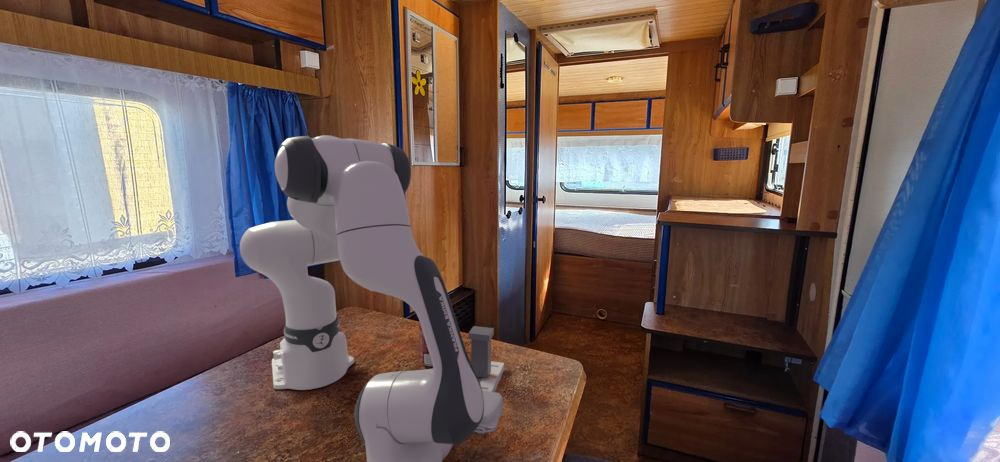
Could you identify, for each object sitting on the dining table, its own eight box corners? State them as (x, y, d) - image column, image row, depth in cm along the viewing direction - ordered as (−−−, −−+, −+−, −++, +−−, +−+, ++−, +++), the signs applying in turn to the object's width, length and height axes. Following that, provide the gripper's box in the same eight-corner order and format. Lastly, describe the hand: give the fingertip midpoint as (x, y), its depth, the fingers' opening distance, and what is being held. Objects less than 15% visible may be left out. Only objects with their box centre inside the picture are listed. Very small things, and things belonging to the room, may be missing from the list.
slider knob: (489, 379, 91) (489, 335, 89) (468, 376, 93) (468, 333, 91) (493, 370, 95) (493, 328, 93) (473, 368, 96) (473, 326, 94)
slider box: (476, 433, 77) (476, 423, 77) (438, 426, 79) (438, 416, 79) (504, 370, 100) (504, 362, 100) (474, 366, 102) (474, 358, 102)
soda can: (440, 369, 100) (439, 325, 98) (415, 366, 102) (414, 323, 99) (449, 356, 107) (448, 315, 104) (425, 354, 108) (424, 313, 106)
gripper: (493, 418, 63) (511, 372, 77) (379, 397, 68) (414, 358, 81) (492, 452, 65) (510, 401, 78) (380, 429, 69) (415, 385, 82)
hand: (460, 379), depth 80 cm, fingers closed
